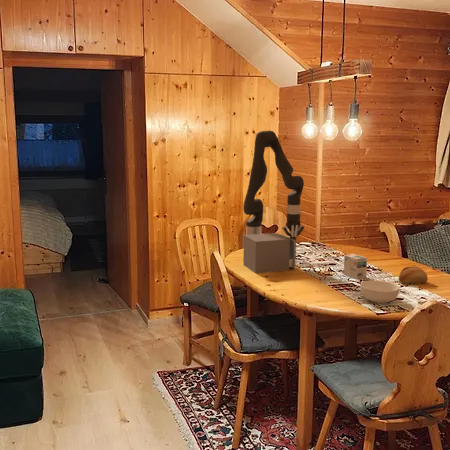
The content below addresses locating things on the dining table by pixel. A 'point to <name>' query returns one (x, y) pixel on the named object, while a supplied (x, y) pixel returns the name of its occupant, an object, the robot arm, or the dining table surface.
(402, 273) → the bread roll
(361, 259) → the light bulb box
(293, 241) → the drawer tray
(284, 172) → the robot arm
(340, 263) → the dining table surface
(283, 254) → the cabinet
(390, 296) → the cereal bowl
